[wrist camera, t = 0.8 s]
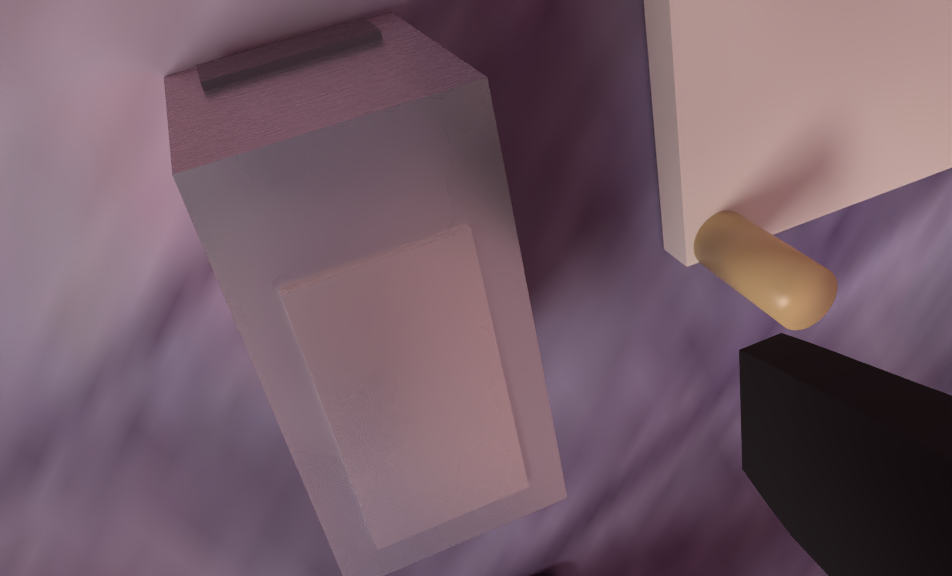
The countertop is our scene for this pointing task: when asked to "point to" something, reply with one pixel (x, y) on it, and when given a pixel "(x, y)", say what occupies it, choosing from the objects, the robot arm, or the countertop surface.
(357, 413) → the mauve rectangular box
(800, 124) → the wooden peg board
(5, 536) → the countertop surface
